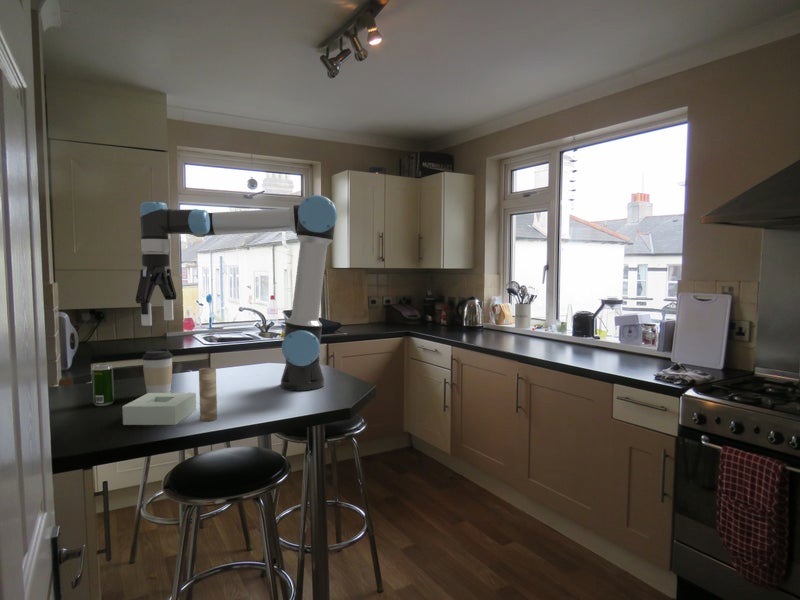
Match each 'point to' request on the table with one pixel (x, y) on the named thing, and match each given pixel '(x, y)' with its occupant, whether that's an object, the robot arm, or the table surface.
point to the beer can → (103, 384)
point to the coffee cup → (158, 371)
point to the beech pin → (207, 394)
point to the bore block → (159, 409)
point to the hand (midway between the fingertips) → (158, 322)
